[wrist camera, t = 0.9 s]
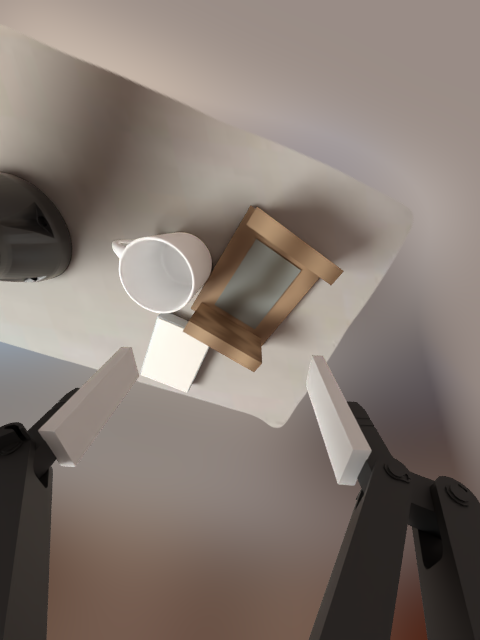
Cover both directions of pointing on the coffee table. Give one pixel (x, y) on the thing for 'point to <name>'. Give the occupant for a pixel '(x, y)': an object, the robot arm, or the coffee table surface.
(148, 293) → the mug
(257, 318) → the cradle
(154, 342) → the white rectangular block
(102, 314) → the coffee table surface
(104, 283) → the coffee table surface
